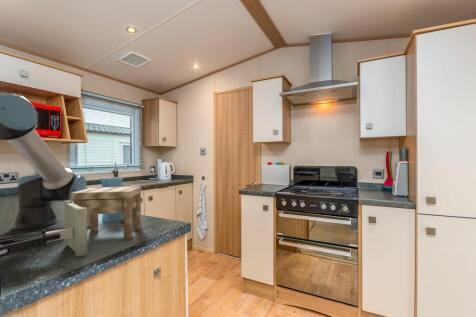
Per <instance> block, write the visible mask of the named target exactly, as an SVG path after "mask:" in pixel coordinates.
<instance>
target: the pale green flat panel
mask: <svg viewBox="0 0 476 317" xmlns="http://www.w3.org/2000/svg"><path fill="white" fill-rule="evenodd" d="M63 215H64V216H63V217H64V219H63V220H64V222H63V223H64V225H63V226H64V227H63V229H66V228H71V227H72V228H73V237H71V238H66V239H64V246H69V247H70V248H71V250H72V251H74V252H75V256H76V257H82V256H86V255H87V254H88V228H87V217H86V208H82V207H80V206H78V205H76V204H74V203H73V201H71V200H70V201H63Z"/></svg>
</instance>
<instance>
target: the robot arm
mask: <svg viewBox="0 0 476 317" xmlns="http://www.w3.org/2000/svg"><path fill="white" fill-rule="evenodd" d="M36 114H37V110H36V108H35V106H34V105H33V104H32V103H31V101H30V100H28V99H27V98H25V97H24V96H22V95H19V94H16V93H8V92H0V141H5V142H8V143H9V145H10V146H12V147H13V149H14V150H15V151H16V152H17V153H18V154H19V156H21V157H22V158H23V159H24V160H25V161H26V163H27V164H28V165H29V166H30V167H31V168H32V169H33V171H35V172H36V174H31V175H30V174H29V175H23V176H20V177H18V180H17V198H18V199H17V200H18V202H17V203H18V210H17V214H16V215H15V218H14V220H13V229H14V230H19V231H21V230H32V229H39V228H44V227H49V226H51V225H54V224H57V222H58V216H57V213H56V211H55V209H54V207H53V202H64V201H70V200H71V193H73V192H77V191H81V190H85V189H87V178H85V177H84V176H83V175H81V174H79V175H76V174H75V173H74V171H73V170H71V169H70V168H67V167H65V166H64V165H63V164H62V162H61V161H60V160H59V159H58V157H57V156H56V155H55V153H54V152H53V151H52V149H50V147H49V146H48V144H46V142H45V141H44V139H43V138H42V137H41V136H40V134H39V133H38V131H37V130H36V128H37V121H38V115H36ZM71 201H72V202H73V200H71ZM71 237H73V228H72V227H71V228H66V229H64V228H62V229H55V230H50V231H46V230H45V229H42V230H41V231H34V232H33V231H32V232H27V233H19V234H14V235H13V234H11V235H0V259H1V258H3V257H7V256H9V255H13V254H17V253H21V252H24V251H28V250H31V249H35V248H39V247H46V246H47V244H48V243H51V242H52V243H53V242H56V241H59V240H65V239H66V238H71Z"/></svg>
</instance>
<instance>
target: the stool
mask: <svg viewBox="0 0 476 317" xmlns="http://www.w3.org/2000/svg"><path fill="white" fill-rule="evenodd" d="M142 191H143V190H142V185H141V186H137V185H136V186H122V187H102V186H101V187H89V188H86V189H85V190H81V191H77V192H73V193H71V200H73V201H72V203H74V204H76V205H78V206H80V207H82V208H86V214H90V227H89V233H90V234H95V233H98V232H99V215H103V214H109V213H123V219H122V221H123V223H124V225H123V240H124V241H131V240H133V239H134V238H133V235H134V234H133V231H134V232H136V231H137V232H138V231H141V230H142V203H141V202H142V195H141V193H142ZM132 209H133V224H132Z"/></svg>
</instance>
